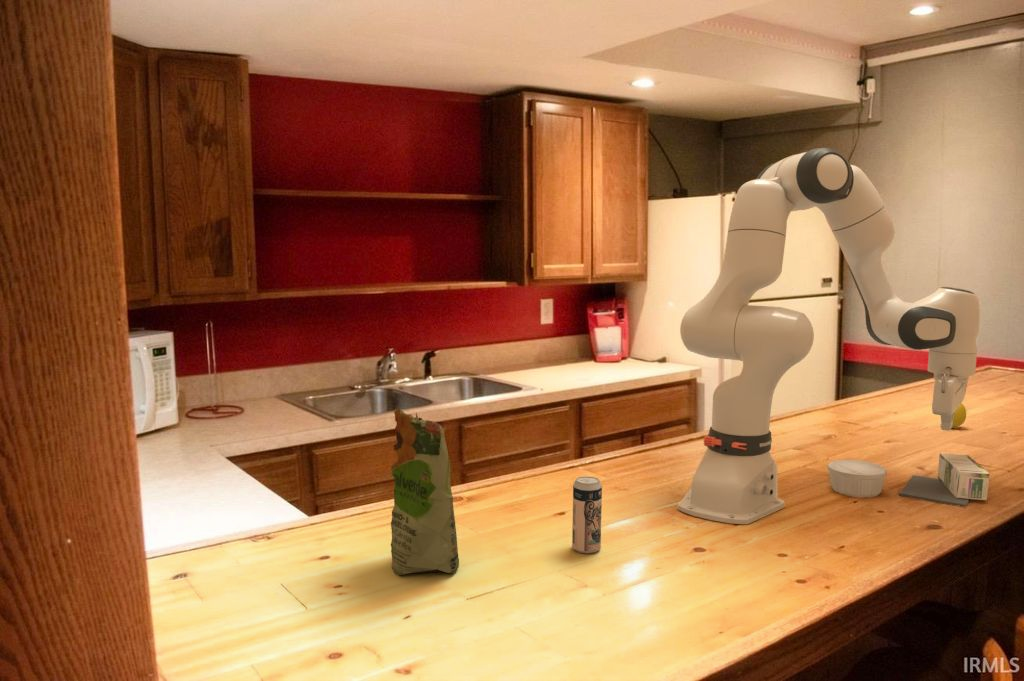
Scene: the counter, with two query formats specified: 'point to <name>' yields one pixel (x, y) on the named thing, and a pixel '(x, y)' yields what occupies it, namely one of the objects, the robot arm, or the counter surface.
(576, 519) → the beer can
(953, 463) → the syrup box
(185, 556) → the counter surface
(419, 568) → the pouch
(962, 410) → the lemon
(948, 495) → the mat
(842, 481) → the ramekin
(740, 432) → the robot arm
